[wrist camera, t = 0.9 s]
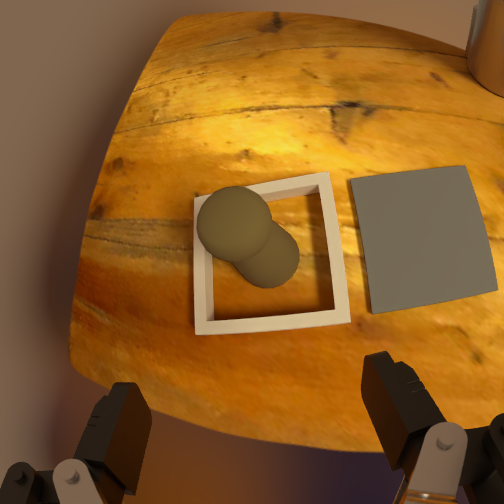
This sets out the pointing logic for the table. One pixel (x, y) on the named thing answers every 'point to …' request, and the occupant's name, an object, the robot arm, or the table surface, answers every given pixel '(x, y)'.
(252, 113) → the table surface
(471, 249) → the mat
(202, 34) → the table surface
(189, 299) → the table surface
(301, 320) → the white square frame
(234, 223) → the cork
